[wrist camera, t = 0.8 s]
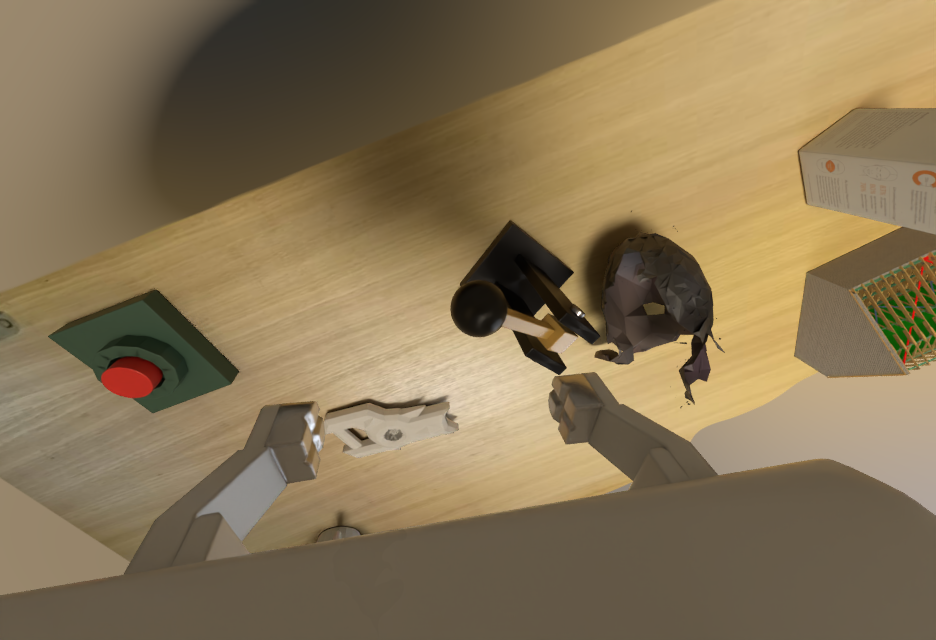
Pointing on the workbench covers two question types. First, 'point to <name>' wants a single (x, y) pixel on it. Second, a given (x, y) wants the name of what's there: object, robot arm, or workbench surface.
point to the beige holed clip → (388, 426)
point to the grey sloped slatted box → (871, 309)
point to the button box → (149, 348)
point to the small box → (876, 167)
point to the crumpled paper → (663, 282)
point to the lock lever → (503, 317)
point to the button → (132, 377)
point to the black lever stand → (531, 288)
